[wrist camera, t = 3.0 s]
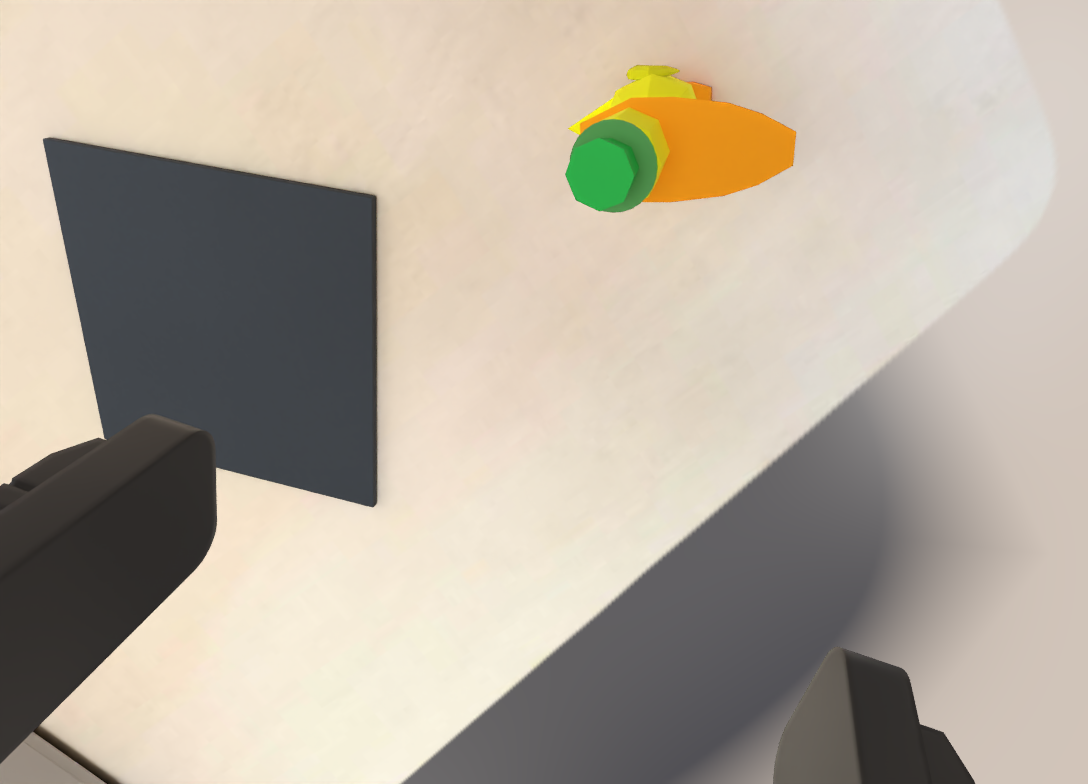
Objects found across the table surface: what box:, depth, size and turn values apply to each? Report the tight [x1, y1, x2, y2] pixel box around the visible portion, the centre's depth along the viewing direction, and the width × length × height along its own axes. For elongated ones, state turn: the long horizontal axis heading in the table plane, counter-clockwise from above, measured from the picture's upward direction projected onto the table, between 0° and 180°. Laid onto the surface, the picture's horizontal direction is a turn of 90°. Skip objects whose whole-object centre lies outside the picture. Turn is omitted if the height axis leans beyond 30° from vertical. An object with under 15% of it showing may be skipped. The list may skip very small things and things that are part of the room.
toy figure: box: [565, 65, 796, 213], centre depth 22 cm, size 7×4×12 cm, turn 93°
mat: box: [43, 138, 376, 507], centre depth 36 cm, size 16×16×1 cm
